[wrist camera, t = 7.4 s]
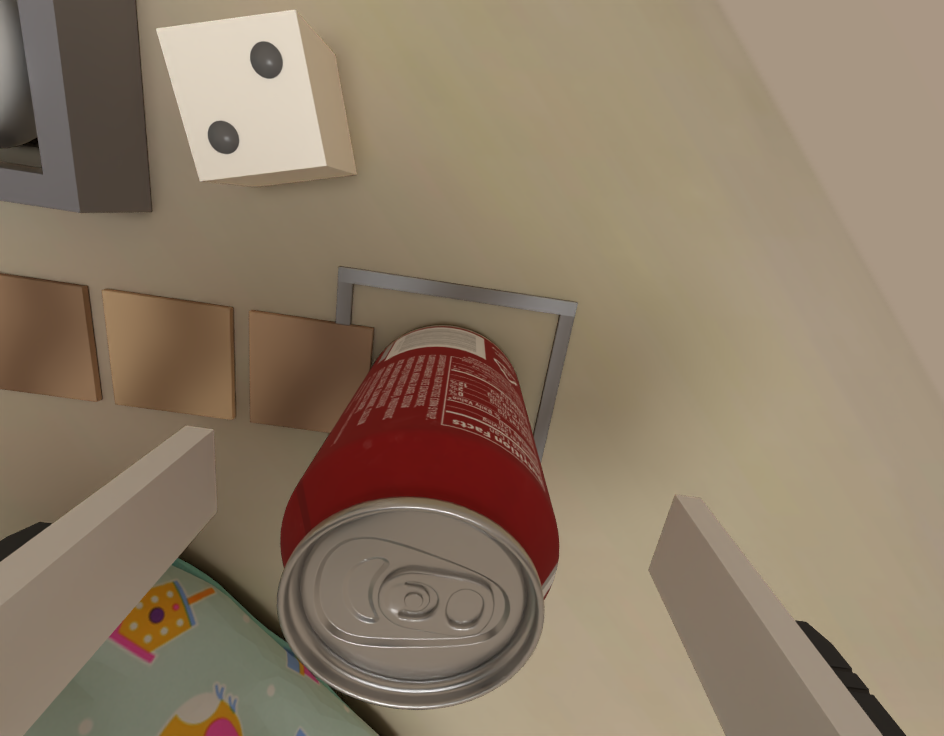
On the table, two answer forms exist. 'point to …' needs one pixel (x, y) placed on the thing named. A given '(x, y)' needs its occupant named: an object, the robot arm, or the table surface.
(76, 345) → the track
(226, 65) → the die
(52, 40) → the dome housing
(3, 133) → the dome
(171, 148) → the table surface
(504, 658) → the soda can
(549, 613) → the table surface
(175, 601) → the lunch box
